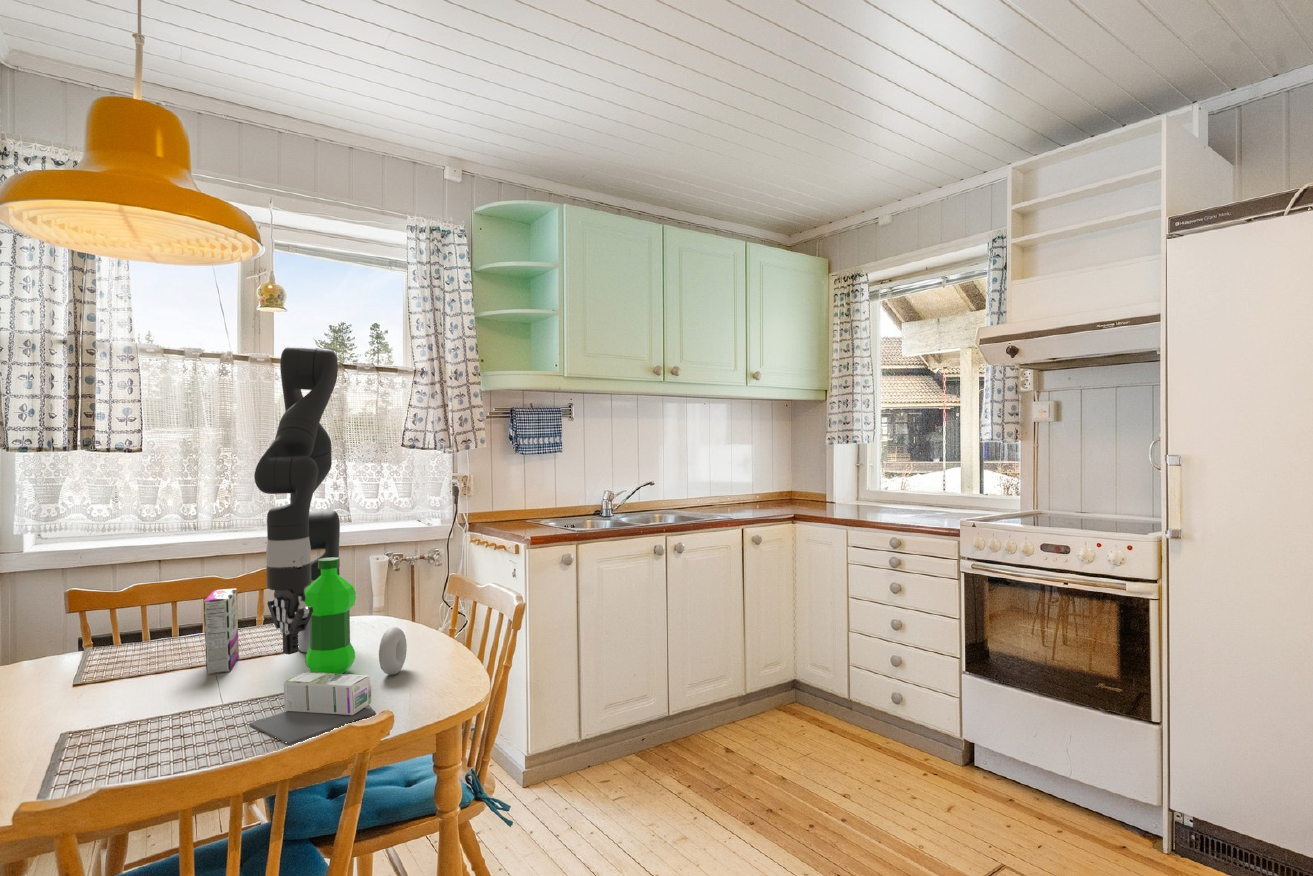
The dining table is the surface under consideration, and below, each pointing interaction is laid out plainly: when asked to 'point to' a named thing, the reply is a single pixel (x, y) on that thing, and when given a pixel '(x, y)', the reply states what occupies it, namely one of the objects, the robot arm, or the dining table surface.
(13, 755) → the dining table surface
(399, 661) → the donut
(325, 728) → the mat
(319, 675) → the syrup box
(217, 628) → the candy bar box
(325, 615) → the plastic bottle
